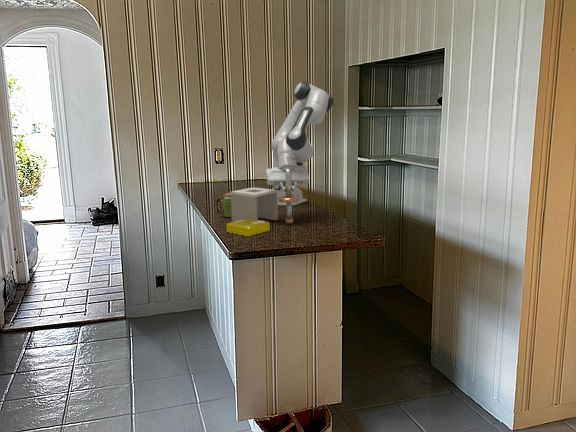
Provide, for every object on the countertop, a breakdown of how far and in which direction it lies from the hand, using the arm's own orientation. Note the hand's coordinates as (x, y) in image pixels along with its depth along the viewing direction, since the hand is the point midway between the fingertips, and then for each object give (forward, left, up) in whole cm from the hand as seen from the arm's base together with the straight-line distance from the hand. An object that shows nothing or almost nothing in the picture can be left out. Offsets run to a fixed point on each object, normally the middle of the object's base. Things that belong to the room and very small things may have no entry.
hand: (288, 190), depth 247 cm
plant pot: (+5, -35, -16) cm, 39 cm away
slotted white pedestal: (+6, -17, -16) cm, 24 cm away
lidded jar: (-14, -51, -16) cm, 56 cm away
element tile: (+23, -5, -17) cm, 29 cm away
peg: (0, 0, -16) cm, 16 cm away
